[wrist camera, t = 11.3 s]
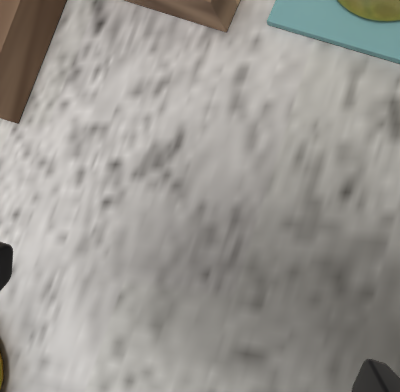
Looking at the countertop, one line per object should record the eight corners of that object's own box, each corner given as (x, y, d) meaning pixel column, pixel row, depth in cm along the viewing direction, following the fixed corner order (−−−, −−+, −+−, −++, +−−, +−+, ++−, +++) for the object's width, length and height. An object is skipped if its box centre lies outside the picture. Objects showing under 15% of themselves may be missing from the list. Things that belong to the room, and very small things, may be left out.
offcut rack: (278, -89, 20) (269, -153, 16) (157, 192, 21) (124, 187, 18) (95, -124, 23) (56, -182, 20) (2, 115, 25) (-49, 99, 21)
